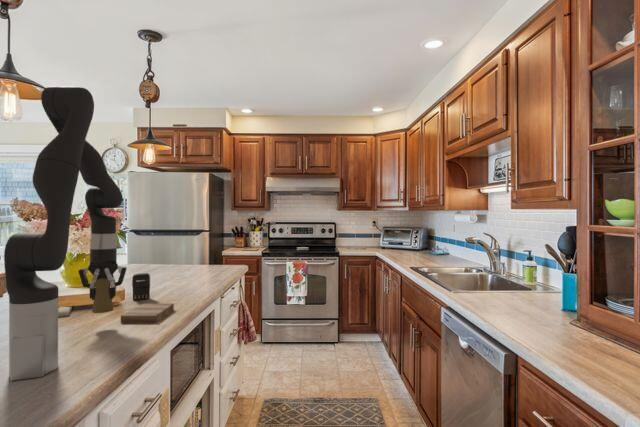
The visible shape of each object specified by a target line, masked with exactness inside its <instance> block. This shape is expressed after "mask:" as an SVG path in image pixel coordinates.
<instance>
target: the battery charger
mask: <svg viewBox="0 0 640 427" xmlns="http://www.w3.org/2000/svg"><path fill="white" fill-rule="evenodd" d="M131 280H132V281H131V286H132V300H133V301H142V300H149V299H150V298H151V297H150V296H151V295H150V294H151V275H150V273H148V272H137V273H134V274H133V276H132V279H131Z"/></svg>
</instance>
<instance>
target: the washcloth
mask: <svg viewBox="0 0 640 427" xmlns="http://www.w3.org/2000/svg"><path fill="white" fill-rule="evenodd" d="M72 309H73V307H60V308H58V318H60V317H61V318H62V317H69V316H70V314H71V312H72Z"/></svg>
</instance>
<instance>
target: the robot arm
mask: <svg viewBox="0 0 640 427" xmlns="http://www.w3.org/2000/svg"><path fill="white" fill-rule="evenodd" d="M40 95H41V96H40V102H41V106H42V108H43V110H44V112H45V114H46V117H47V118H48V120H49V121H50V122H51V125H53V127H54V129H55V131H56V132H57V135H56V136H55V137H54V138H52V139H51V141H50V142H49V143H47V145H46V146H44V148H43V149H42V150H41V151H40V153H39V154H38V156H37V158H36V161H35V166H34V169H33V174H32V184H33V188H34V190H35V192H36V193H37V196H38V197H39V199H40V200H41V201H40V202H42V204H43V206H44V209H45V210H46V219H47V220H46V226H45V227H46V228H45V232H18V233H14V234H12V235H11V236H10V237H9V238H8V239H7V241H6V244H5V246H4V253H3V254H4V255H3V256H4V257H3V259H4V260H3V261H4V273H5V274H4V276H5V289H6V292H7V295H8V300H9V301H8V302H9V303H8V304H9V305H8V309H9V310H8V314H9V315H8V323H9V324H8V325H9V326H8V377H9V378H10V379H9V380H10V382H12V381H20V380H27V379H34V378H42V377H44V376H45V375H47V374H50V373H51V372H53V371H55V370H56V369H57V368H58V367H59V317H58V302H59V286H58V285H57V284H55V283H52V282H48V281H46V280H44V279H42V278H41V277H40V276H38V274H37V273H36V272H52V271H53V272H54V271H57V270H59V269H60V268H61V267H63V265H64V263H65V261H66V257H67V254H68V248H69V247H68V246H69V236H70V226H71V224H70V223H71V216H72V208H73V203H74V197H75V193H76V188H77V185H78V184H77V183H78V179H79V174H80V175H81V177H82V179H83V182H84V183H85V184H86V185H89V186H90V188H88V189H87V190H86V192H85V196H84V199H85V200H84V201H85V204H86V205H85V206H86V208H87V210H88V214H89V219H90V222H91V226H90V229H91V230H90V231H91V232H90V233H91V234H90V240H89V265H88V267H85V268H80V269H78V271H77V272H78V275H79V278H80V281H81V284H82V287H83V288H88V289H89V299H90V300H91V301H94V297H95V290H96V288H95V286H94V282H96V280H97V279H98V278H108V280H109V281H110V285H111V286H110V299H112V300H113V299H114V298H115V297H116V294H117V287H118V286H121V285H122V284H123V282H124V280H125V275H126V272H127V269H128V268H127V266H119V265H118V262H117V258H118V256H117V252H118V250H117V249H118V241H117V219H116V217H115V216H113V215H108V214H106V213H104V211H103V209H116V208H119V207H120V206H121V205H122V203H123V200H124V198H123V194H122V193H123V192H122V190H121V189H120V187H119V186H118V185H117V183H116V182H115V181H114V180H113V178H112V177H111V176H110V174H109V173H108V170H107V167H106V164H105V162H104V160H103V157H102V155H101V154H100V153H99V152H98V150H97V149H96V148H95V147H94V146H93V145H92V144H91V143H89V142H88V140H86V138H87V135H88V132H89V129H90V126H91V124H92V120H93V116H94V110H95V101H94V97H93V95H92V93H91V92H90V91H89V89H87V88H85V87H81V86H63V85H62V86H47V87H45V88H44V89H43V90H42V92H41V94H40ZM116 271H118V274H119V277H118V278H117V279H118V280H117V281H116V279H115V276H114V274H115V272H116ZM89 272H90V274H91V275H92V279H91V282H90V281H89V280H88V276H87V275H88V273H89Z"/></svg>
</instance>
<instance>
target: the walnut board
mask: <svg viewBox="0 0 640 427" xmlns="http://www.w3.org/2000/svg"><path fill="white" fill-rule="evenodd" d="M174 307H175V305H174V303H141V304H139V305H137V306H136V307H134V308H131V309H130V310H129V311H126V312H124V313H122V314H121V315H120V323H121V324H146V323H147V324H149V323H151V324H152V323H153V324H154V323H155V324H156V323H157V322H159V321H160V320H162V319H163V318H165V317H166V316H168V314H170V313H171V312H172V311H174V309H175V308H174Z"/></svg>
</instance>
